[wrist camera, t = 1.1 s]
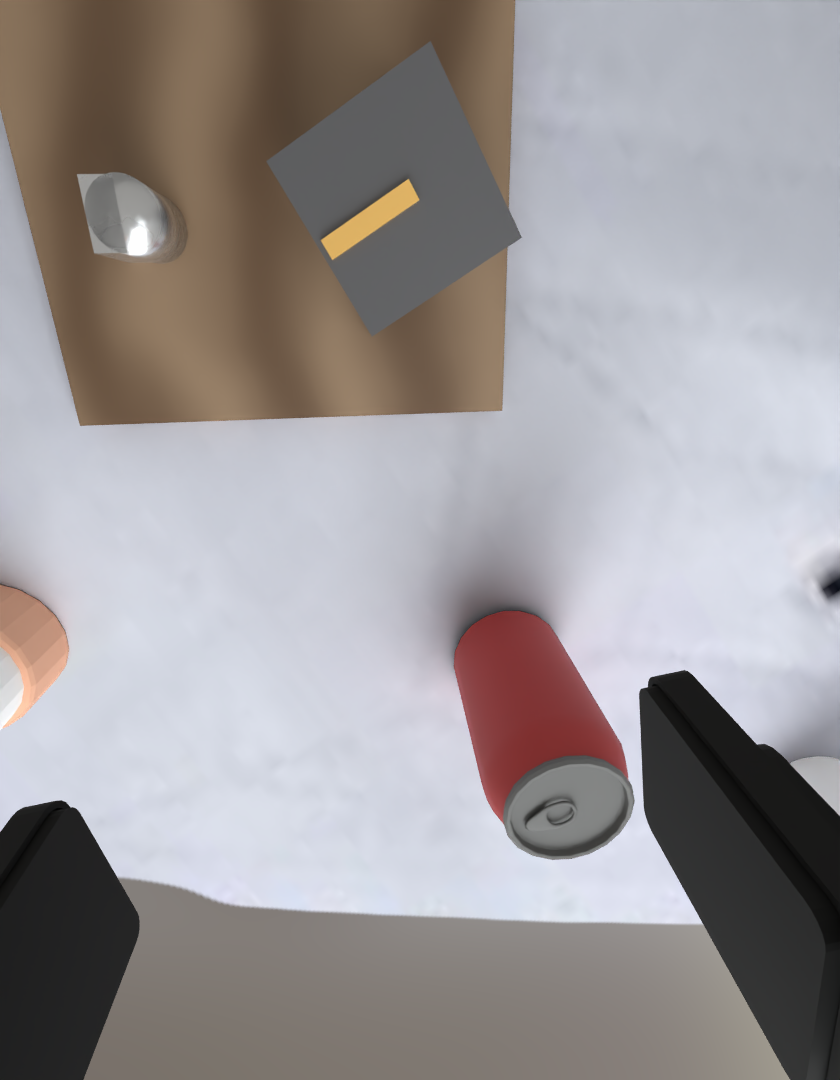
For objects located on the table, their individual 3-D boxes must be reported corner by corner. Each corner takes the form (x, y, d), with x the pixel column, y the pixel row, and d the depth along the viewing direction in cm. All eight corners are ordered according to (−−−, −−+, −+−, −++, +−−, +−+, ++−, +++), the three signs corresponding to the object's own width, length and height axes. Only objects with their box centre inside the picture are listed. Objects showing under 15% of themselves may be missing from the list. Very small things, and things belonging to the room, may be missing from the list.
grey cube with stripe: (418, 101, 22) (431, 37, 17) (493, 254, 24) (522, 236, 19) (288, 195, 23) (265, 159, 18) (372, 335, 25) (371, 336, 20)
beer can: (435, 632, 33) (466, 790, 22) (535, 588, 32) (622, 726, 21) (476, 711, 35) (524, 889, 24) (570, 671, 35) (664, 834, 23)
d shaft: (181, 192, 22) (152, 172, 19) (192, 263, 23) (166, 253, 20) (116, 193, 22) (76, 172, 19) (130, 264, 23) (94, 254, 20)
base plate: (506, 7, 22) (515, -14, 21) (495, 406, 28) (501, 410, 27) (-6, 0, 21) (-33, -23, 19) (95, 420, 27) (80, 425, 25)
